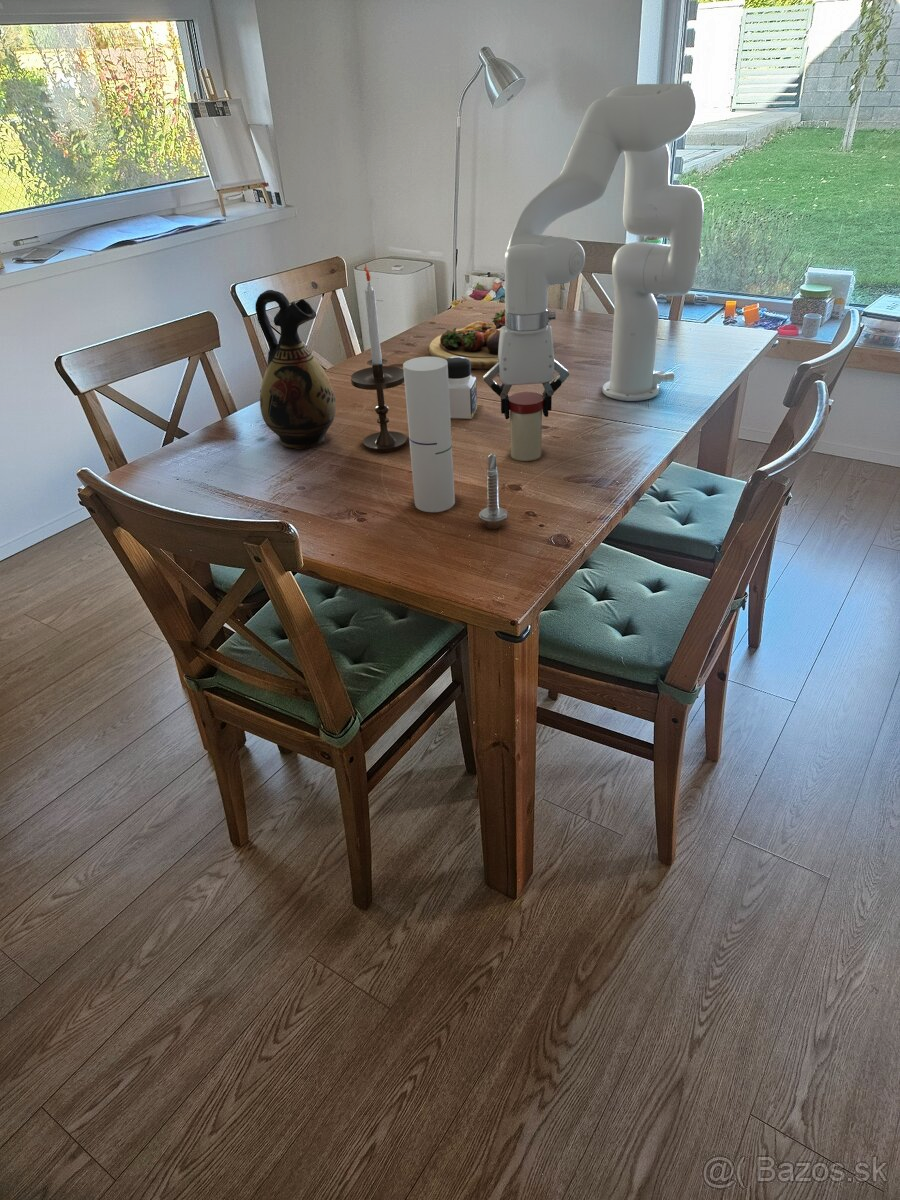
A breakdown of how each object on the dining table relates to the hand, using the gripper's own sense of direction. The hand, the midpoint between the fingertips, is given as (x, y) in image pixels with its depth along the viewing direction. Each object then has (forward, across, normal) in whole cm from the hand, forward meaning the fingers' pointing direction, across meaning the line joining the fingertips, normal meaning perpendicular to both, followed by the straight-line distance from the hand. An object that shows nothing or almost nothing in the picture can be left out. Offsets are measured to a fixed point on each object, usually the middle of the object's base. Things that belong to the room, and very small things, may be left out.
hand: (526, 414), depth 156 cm
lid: (-3, 0, 0) cm, 3 cm away
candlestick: (+8, +28, -10) cm, 31 cm away
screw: (+8, +9, +28) cm, 30 cm away
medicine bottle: (+8, +12, -24) cm, 29 cm away
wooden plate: (+8, +2, -68) cm, 68 cm away
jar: (+8, 0, 0) cm, 8 cm away
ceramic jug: (+8, +46, -15) cm, 49 cm away
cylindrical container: (+8, +18, +18) cm, 27 cm away
